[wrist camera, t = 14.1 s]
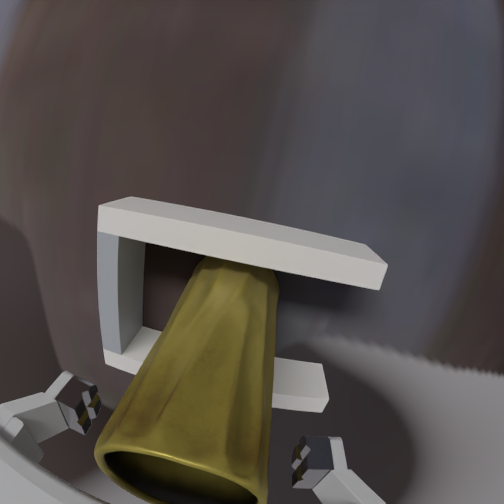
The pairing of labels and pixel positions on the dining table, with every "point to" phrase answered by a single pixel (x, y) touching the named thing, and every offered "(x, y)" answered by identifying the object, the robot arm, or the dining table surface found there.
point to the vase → (201, 396)
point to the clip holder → (225, 247)
